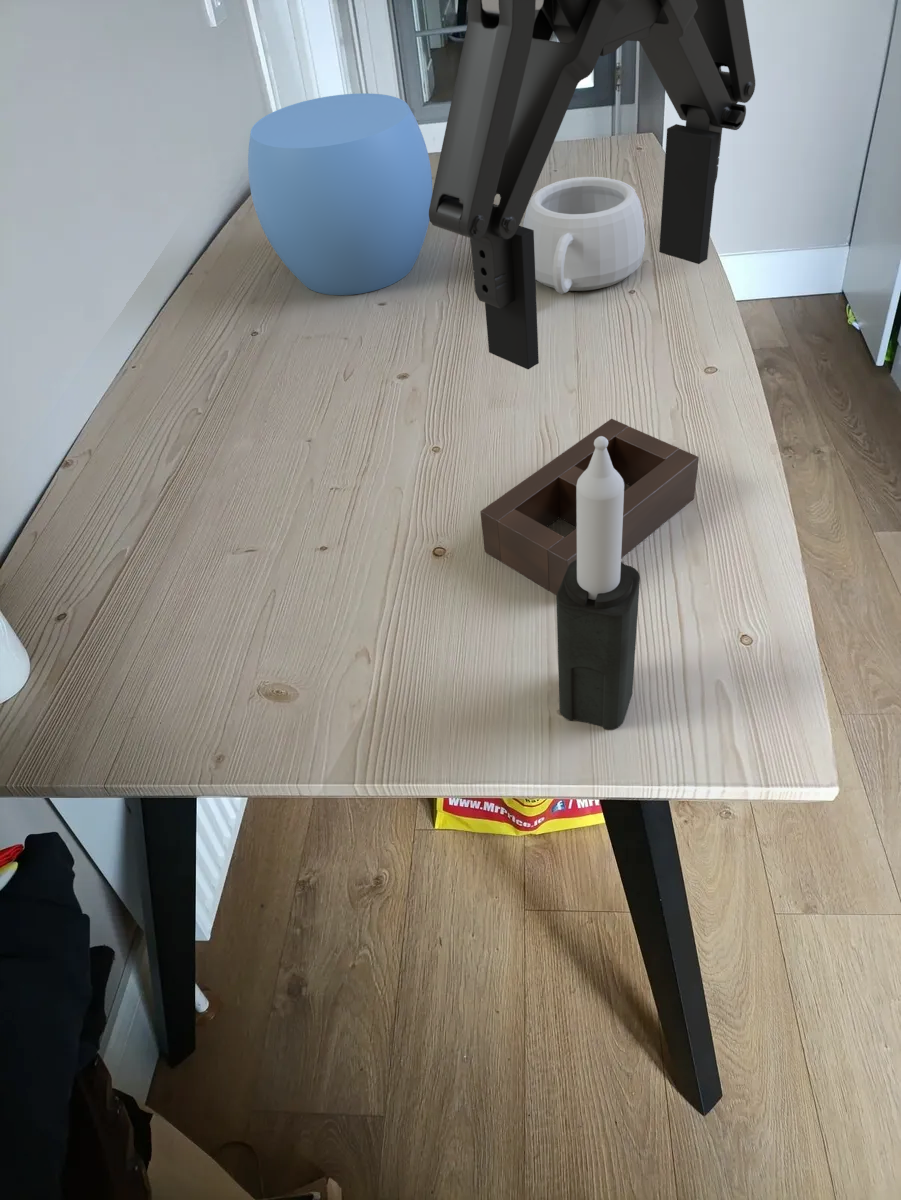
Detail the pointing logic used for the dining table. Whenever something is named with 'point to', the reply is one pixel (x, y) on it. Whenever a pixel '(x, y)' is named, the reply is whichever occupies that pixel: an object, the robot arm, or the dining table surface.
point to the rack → (551, 494)
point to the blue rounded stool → (342, 190)
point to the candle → (597, 604)
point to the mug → (585, 233)
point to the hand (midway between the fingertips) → (603, 304)
